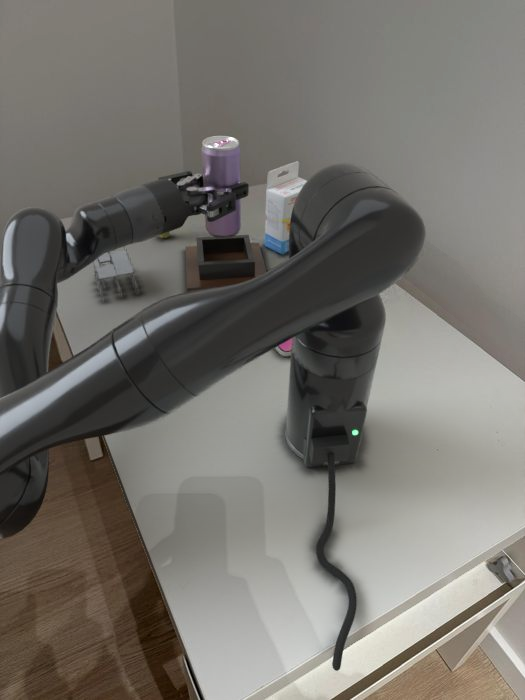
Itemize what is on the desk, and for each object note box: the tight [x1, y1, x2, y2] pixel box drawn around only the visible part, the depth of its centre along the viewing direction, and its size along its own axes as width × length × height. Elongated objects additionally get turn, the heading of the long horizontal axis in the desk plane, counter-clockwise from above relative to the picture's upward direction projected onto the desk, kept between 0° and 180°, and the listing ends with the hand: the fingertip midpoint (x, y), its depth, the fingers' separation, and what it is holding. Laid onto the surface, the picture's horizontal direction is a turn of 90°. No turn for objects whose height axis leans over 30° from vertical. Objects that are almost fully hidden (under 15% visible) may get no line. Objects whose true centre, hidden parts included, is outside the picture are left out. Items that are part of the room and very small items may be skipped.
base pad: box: [184, 234, 267, 292], centre depth 92 cm, size 14×14×4 cm
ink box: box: [264, 160, 308, 256], centre depth 96 cm, size 8×5×15 cm, turn 134°
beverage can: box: [200, 135, 242, 238], centre depth 83 cm, size 6×6×15 cm
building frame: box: [92, 246, 140, 302], centre depth 87 cm, size 6×8×6 cm
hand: (233, 182), depth 84 cm, fingers closed on beverage can, 6 cm apart
